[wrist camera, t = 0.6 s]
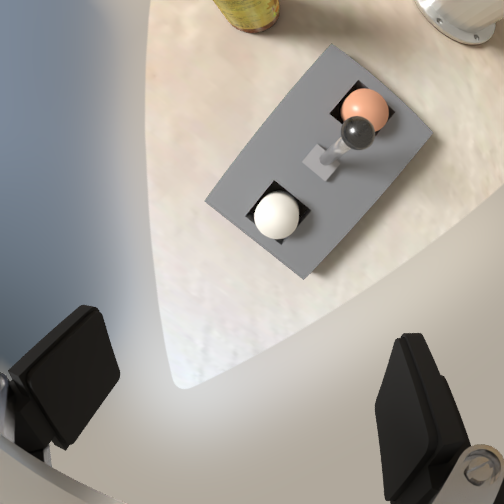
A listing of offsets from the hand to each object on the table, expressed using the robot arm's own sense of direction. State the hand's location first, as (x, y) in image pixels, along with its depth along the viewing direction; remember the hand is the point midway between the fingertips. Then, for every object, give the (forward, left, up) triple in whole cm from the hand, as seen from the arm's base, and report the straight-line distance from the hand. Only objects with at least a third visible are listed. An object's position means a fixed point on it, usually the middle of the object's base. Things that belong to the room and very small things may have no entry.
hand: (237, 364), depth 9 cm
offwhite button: (+1, 0, -26) cm, 26 cm away
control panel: (-6, 0, -28) cm, 28 cm away
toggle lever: (-6, 0, -24) cm, 24 cm away
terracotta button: (-13, 0, -26) cm, 29 cm away
